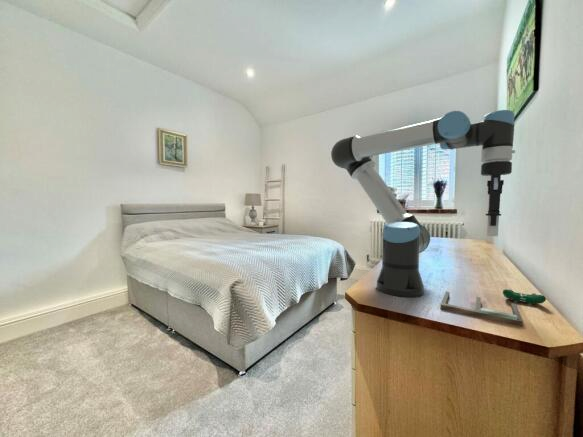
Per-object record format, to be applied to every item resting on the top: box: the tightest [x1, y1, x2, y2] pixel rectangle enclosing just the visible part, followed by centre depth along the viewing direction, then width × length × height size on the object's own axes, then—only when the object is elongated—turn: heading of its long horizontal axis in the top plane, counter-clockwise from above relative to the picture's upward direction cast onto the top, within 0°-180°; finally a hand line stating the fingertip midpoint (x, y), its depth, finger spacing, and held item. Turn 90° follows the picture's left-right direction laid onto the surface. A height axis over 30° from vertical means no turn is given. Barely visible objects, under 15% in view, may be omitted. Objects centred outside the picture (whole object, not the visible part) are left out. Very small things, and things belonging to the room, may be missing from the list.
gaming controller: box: [502, 288, 547, 306], centre depth 74 cm, size 9×4×6 cm
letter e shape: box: [440, 291, 524, 327], centre depth 69 cm, size 17×14×2 cm
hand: (492, 235), depth 79 cm, fingers closed
